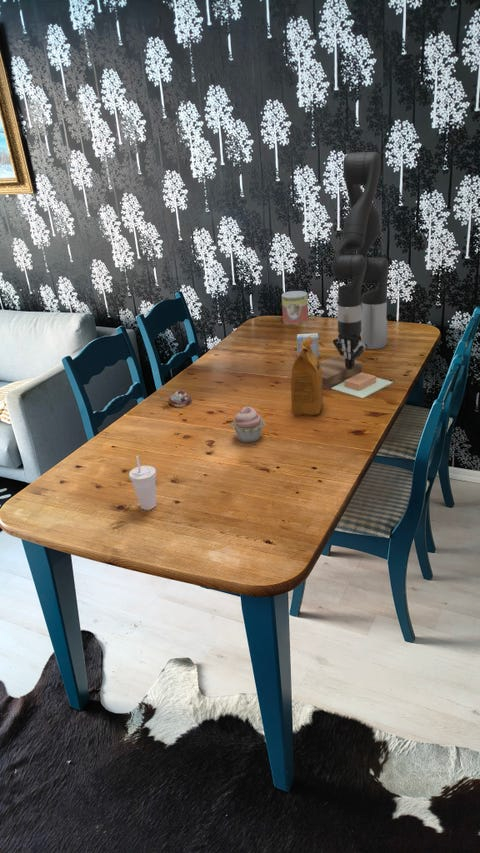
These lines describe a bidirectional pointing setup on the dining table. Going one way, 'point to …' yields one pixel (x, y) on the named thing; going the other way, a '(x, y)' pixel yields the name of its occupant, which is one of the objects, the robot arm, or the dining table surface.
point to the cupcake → (248, 425)
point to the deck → (337, 371)
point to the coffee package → (306, 382)
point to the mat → (364, 392)
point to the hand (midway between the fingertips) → (349, 368)
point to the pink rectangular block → (360, 381)
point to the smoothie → (144, 485)
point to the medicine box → (314, 345)
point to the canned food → (294, 307)
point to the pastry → (180, 399)
